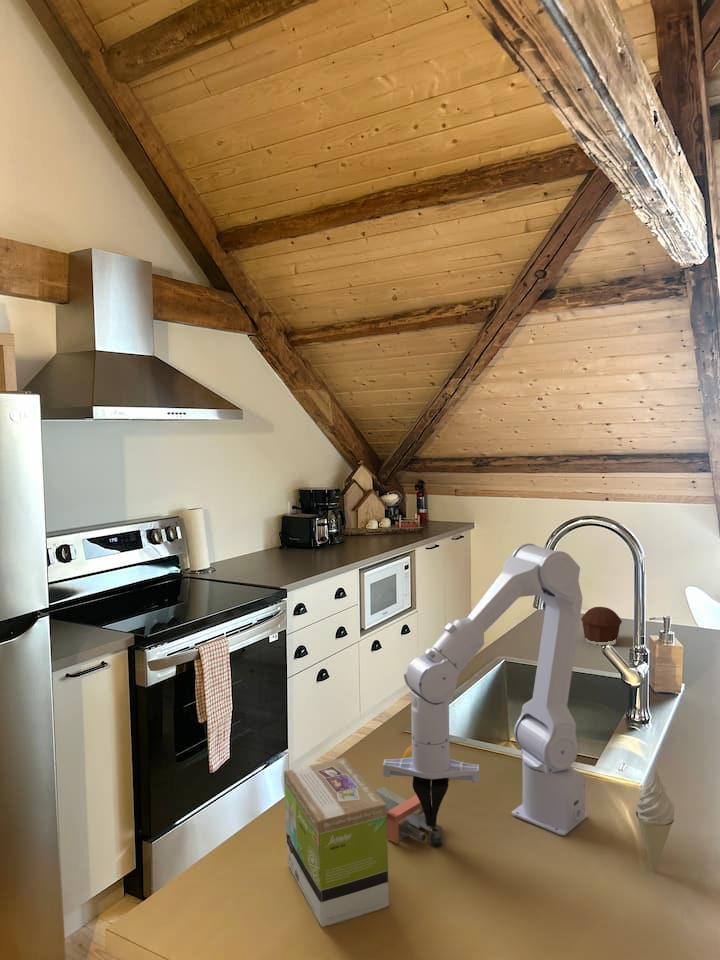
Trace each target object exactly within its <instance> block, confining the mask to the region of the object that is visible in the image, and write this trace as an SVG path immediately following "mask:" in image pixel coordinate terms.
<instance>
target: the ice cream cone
mask: <svg viewBox="0 0 720 960" xmlns="http://www.w3.org/2000/svg"><path fill="white" fill-rule="evenodd" d="M646 787H647V788H646V790H645V791H644V792H643V795H641V796H639V797H638V798H639V800H640V801H641V802H637V805H636V806H637V807H638V808H637V809H636V811H635V816H636V818H637V821H638V825H639V830H640V832H641V835H642V836H641V837H642V839H643V843H644V846H645V850H646V854H647V857H648V861H649V865H650V867H651V868H650V869H651V871H652V872H654V873H655V872H657V869H658V866H659V863H660V862H661V861H660V860H661V858H662V856H663V852H664V848H665V845H666V843H667V839H668V837H669V833H670V830H671V828H672V825H673V823H674V822H675V821H674V820H675V819H674V818H675V817H674V816H675V805H674V803H673V801H672V799H670V797H669V796H668V795H667V790H666V789H667V788H666V786H664V784H663V782H662V780H661V778H660V775H659V772H658V770H657V768H656V769H655V770H654V773H653V775H652V777H651V779H650V780H649V782H648V783H647V784H646Z"/></svg>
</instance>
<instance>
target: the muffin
mask: <svg viewBox="0 0 720 960" xmlns="http://www.w3.org/2000/svg"><path fill="white" fill-rule="evenodd" d="M580 620H581V622H582V627H583V635H584V639H585V638H587V639H588V640H590V641H595V642H608V641H613V640H615V639H617V637H618V638H619V633H620V626H621V624H622V623H623V620H622V619H621V617H620V616H619V615H618V614H617V612H615V610H612V609H611V608H609V607H605V606H594V607H592V608H590V609H588V610H587V611H586V612H585V613H584V614H583V615H582V617H580ZM617 640H618V639H617Z"/></svg>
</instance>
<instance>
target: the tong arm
mask: <svg viewBox="0 0 720 960" xmlns="http://www.w3.org/2000/svg"><path fill="white" fill-rule="evenodd" d="M374 791H375V792H376V793H377V795H378V796H379V797H380V798H381V799H382V800H383V801H384V802H385V804H386V809H387V811H389V810H391V809H393V808H394V807H396V806H398V805H400V804H401V803H403V802H405V801H406V800H407V799H405V798H404V797H402V796H400V795H399V794H397V793H395V792H394V791H391V790H389V789H388V788H386V787H385V786H382V787H380V788H377V789H375V790H374ZM404 819H406V820H408V821H409V824H410V825H411V826H414V828H416V829H421V828H423V829H425V831H426V830H427V831H428V832H429V828H430V826H427V824H426V818H425V814H424V811H423V809H422V808H420V809H419V810H417V811H415V812H414V813H412V814H411V815H409V816H407V817H406V818H404Z"/></svg>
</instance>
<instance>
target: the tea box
mask: <svg viewBox="0 0 720 960" xmlns="http://www.w3.org/2000/svg"><path fill="white" fill-rule="evenodd" d="M283 775H284V776H283V777H284V779H283V781H284V783H283V784H284V786H283V787H284V809H285V810H284V812H285V832H286V833H285V834H286V858H287V859H286V860H287V865H288V866H289V869H290V871H291V873H292V875H293V876H294V878H295V880H296V882H297V884H298V886H299V888H300V890H301V891H302V893H303V895H304V897H305V899H306V901H307V903H308V905H309V906H310V908H311V911H312V912H313V914H314V916H315V918H316V920H317V921H318V923H319V925H320V927H321V928H325V927H327V926H332V925H334V924H338V923H341V922H345V921H347V920H348V921H349V920H350V919H351V920H352V919H354V918H358V917H360V916H363V915H367V914H369V913H374V912H376V911H379V910H382V909H384V908H387V907H389V905H390V904H389V897H390V896H389V894H390V893H389V892H390V888H389V886H390V885H389V860H388V859H389V857H388V855H389V851H388V839H387V811H388V810H387V809H386V804H385V802H384V801H383V800H382V799H381V798H380V797H379V796H378V795H377V793H376V792H375V790H374V789H373V787H371V786H370V785H369V783H368V782H367V781H366V780H365V779H364V778H363V776H361V774H360V773H359V772H358V771H357V770H356V769H355V767H354V766H353V765H352V764H351V763H350V762H349V761H348V759H347V758H345V757H342V758H337V759H331V760H328V761H325V762H324V761H323V762H320V763H315V764H311V765H306V766H302V767H298V768H294V769H289V770H284V773H283Z"/></svg>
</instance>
